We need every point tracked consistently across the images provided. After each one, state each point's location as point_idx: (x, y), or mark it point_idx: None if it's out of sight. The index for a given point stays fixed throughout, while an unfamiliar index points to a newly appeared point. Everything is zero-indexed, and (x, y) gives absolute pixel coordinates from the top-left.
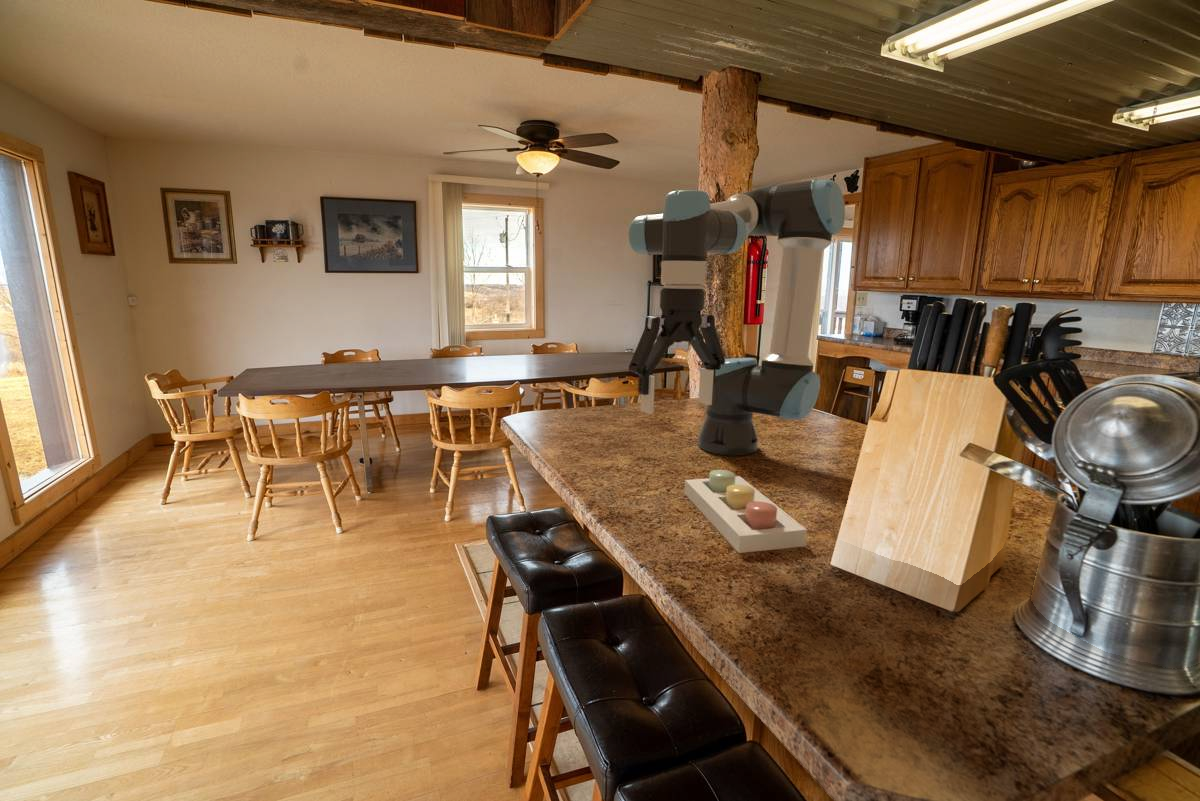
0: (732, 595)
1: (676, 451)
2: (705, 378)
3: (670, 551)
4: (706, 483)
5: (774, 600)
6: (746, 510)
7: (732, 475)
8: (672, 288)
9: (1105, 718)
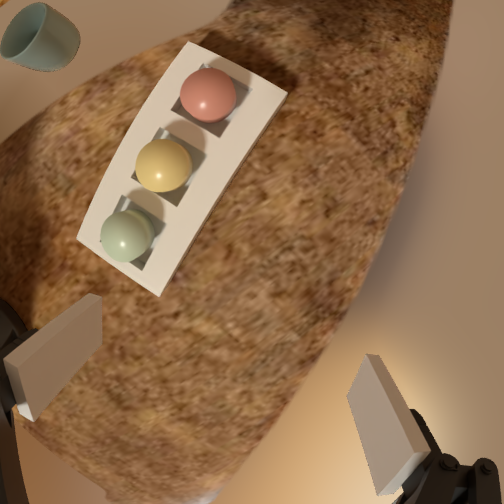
0: (379, 63)
1: None
2: (48, 370)
3: (354, 175)
4: (135, 264)
5: (350, 26)
6: (225, 111)
7: (112, 220)
8: None
9: None
